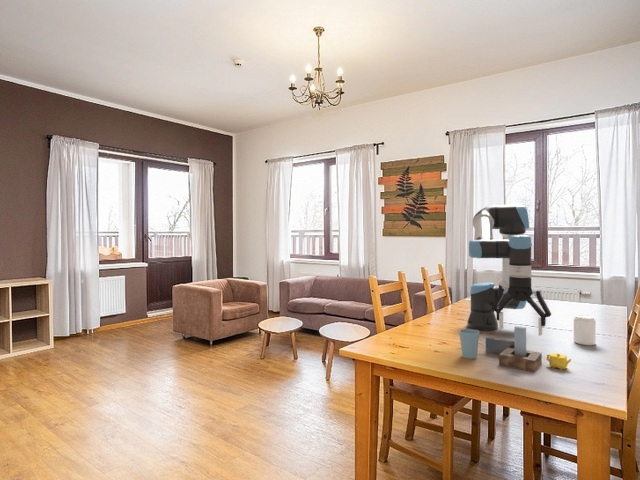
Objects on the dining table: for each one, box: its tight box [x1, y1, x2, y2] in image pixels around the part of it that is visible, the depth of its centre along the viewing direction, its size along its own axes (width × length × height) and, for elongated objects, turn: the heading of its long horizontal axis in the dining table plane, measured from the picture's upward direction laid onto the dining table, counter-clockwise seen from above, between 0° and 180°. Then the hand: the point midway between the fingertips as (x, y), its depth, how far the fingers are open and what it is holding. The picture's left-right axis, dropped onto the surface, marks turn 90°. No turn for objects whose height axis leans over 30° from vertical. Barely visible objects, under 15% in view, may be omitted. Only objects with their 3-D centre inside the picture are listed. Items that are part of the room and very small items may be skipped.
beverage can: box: [573, 314, 597, 346], centre depth 175 cm, size 8×8×12 cm
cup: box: [459, 328, 480, 360], centre depth 159 cm, size 8×8×10 cm
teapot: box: [546, 353, 572, 371], centre depth 145 cm, size 8×6×5 cm
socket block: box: [498, 347, 543, 373], centre depth 149 cm, size 12×12×4 cm
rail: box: [485, 337, 515, 355], centre depth 160 cm, size 14×1×6 cm, turn 50°
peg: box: [513, 325, 527, 357], centre depth 149 cm, size 4×4×14 cm
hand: (520, 331), depth 149 cm, fingers open, 13 cm apart
